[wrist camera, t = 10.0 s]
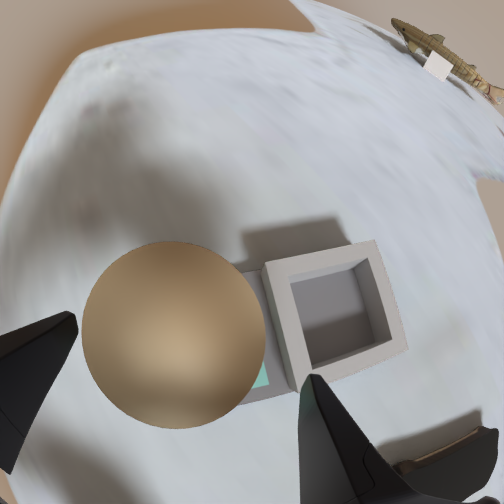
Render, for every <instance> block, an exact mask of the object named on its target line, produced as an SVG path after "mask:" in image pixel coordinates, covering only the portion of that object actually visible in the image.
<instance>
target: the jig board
mask: <svg viewBox="0 0 504 504" xmlns="http://www.w3.org/2000/svg"><path fill="white" fill-rule="evenodd" d="M241 274H242V275H243V277H244V278H245V279H246V280H247V282H248V283H249V285H250V286H251V288H252V290H253V291H254V293H255V295H256V297H257V300H258V302H259V304H260V307H261V310H262V314H263V318H264V323H265V332H266V345H265V354H264V359H263V363H262V367H261V369H260V372H259V375H258V377H257V379H256V381H255V383H254V385H253V386H252V388H251V390H250V391H249V392H248V394H247V395H246V396H245V398H244V399H243V400H242V401H241V402H240V403H239V404H238V405H242V404H247V403H251V402H255V401H260V400H264V399H268V398H272V397H275V396H279V395H283V394H286V393H290V392H293V391H295V392H297V393H300V391H301V387H302V385H303V383H304V382H305V380H306V378H307V376H308V375H309V374H311V373H312V374H319V375H321V376H322V378H323V379H324V380H325V382H326V383H327V384H328V383H331V382H334V381H337V380H339V379H342V378H345V377H347V376H350V375H352V374H355V373H357V372H360V371H362V370H365V369H367V368H369V367H372V366H374V365H376V364H379V363H381V362H383V361H385V360H388V359H390V358H392V357H394V356H396V355H398V354H400V353H402V352H404V351H406V350H408V345H407V341H406V337H405V333H404V329H403V325H402V321H401V318H400V314H399V310H398V307H397V304H396V300H395V297H394V294H393V290H392V287H391V284H390V281H389V278H388V275H387V272H386V269H385V266H384V263H383V261H382V258H381V255H380V252H379V250H378V247H377V244H376V242H375V240H370V241H365V242H361V243H356V244H351V245H346V246H342V247H337V248H332V249H327V250H322V251H317V252H313V253H308V254H303V255H298V256H293V257H288V258H283V259H278V260H273V261H268V262H265V263H264V266H263V268H262V269H259V270H254V271H249V272H244V273H241Z"/></svg>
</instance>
